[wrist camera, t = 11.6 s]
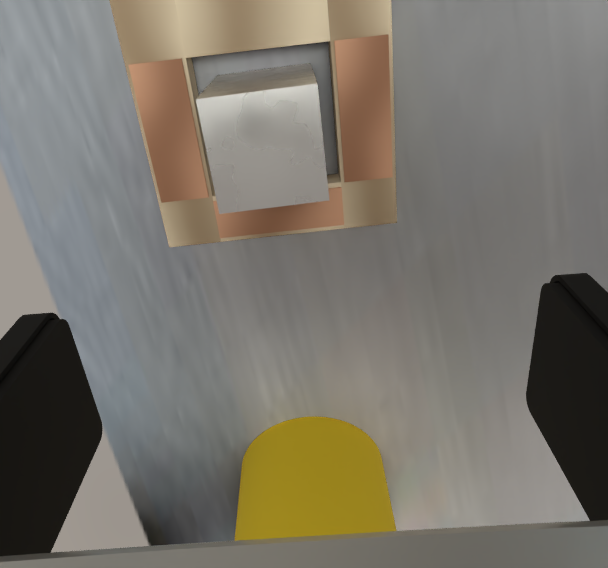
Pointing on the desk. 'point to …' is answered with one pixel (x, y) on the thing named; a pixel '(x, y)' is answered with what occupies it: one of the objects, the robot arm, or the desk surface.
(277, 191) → the steel block
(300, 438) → the tape roll
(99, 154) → the desk surface
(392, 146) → the hole rail
